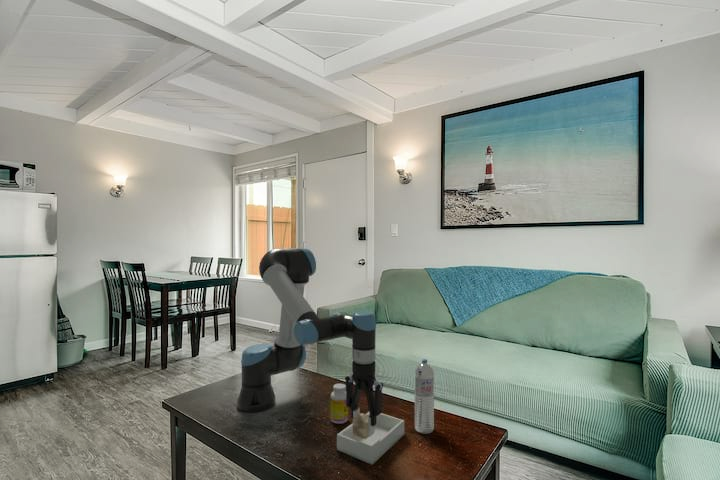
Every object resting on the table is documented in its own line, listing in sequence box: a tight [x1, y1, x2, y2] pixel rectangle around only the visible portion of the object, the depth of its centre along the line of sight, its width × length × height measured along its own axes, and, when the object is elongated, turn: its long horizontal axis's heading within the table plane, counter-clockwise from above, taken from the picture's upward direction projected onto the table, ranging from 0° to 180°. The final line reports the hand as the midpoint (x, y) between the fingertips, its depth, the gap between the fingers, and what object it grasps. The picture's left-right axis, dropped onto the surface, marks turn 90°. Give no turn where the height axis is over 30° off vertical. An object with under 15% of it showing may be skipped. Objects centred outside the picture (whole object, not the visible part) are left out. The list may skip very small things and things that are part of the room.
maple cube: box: [352, 412, 368, 439], centre depth 120 cm, size 5×5×5 cm
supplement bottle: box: [330, 383, 349, 425], centre depth 139 cm, size 7×7×13 cm
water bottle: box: [414, 358, 435, 435], centre depth 132 cm, size 7×7×25 cm
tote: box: [336, 411, 405, 466], centre depth 124 cm, size 14×21×5 cm, turn 145°
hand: (363, 431), depth 120 cm, fingers closed on maple cube, 5 cm apart
